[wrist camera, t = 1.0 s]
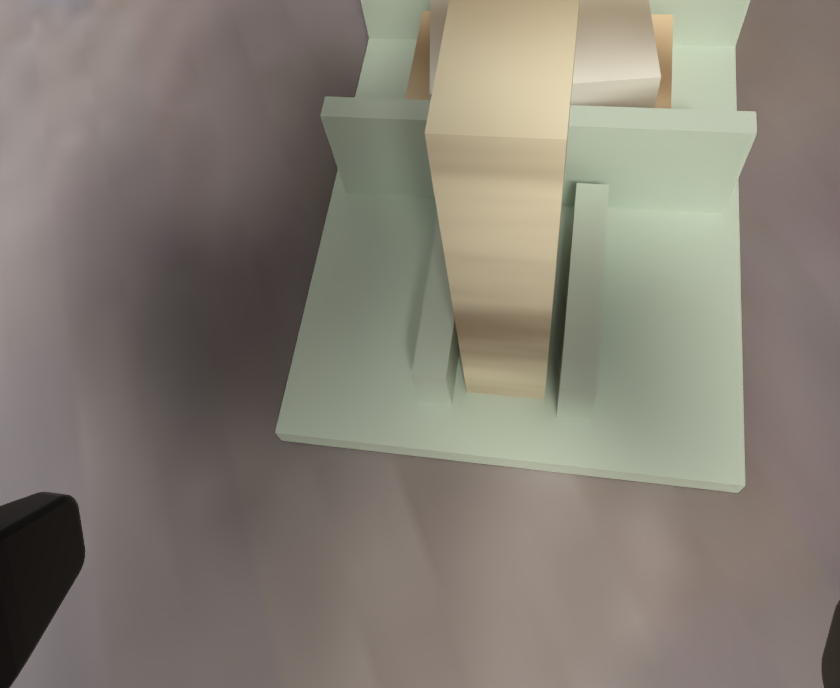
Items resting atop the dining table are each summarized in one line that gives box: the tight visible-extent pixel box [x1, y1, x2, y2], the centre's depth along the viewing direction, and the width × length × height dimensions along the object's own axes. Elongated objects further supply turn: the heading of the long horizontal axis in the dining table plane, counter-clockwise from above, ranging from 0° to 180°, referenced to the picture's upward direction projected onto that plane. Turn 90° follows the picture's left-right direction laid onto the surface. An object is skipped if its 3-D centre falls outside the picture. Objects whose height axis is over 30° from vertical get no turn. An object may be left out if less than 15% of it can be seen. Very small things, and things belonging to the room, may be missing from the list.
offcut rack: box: [275, 0, 757, 493], centre depth 24 cm, size 18×14×7 cm
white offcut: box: [430, 0, 661, 108], centre depth 26 cm, size 5×7×2 cm, turn 89°
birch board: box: [424, 0, 580, 400], centre depth 20 cm, size 6×2×12 cm, turn 171°
